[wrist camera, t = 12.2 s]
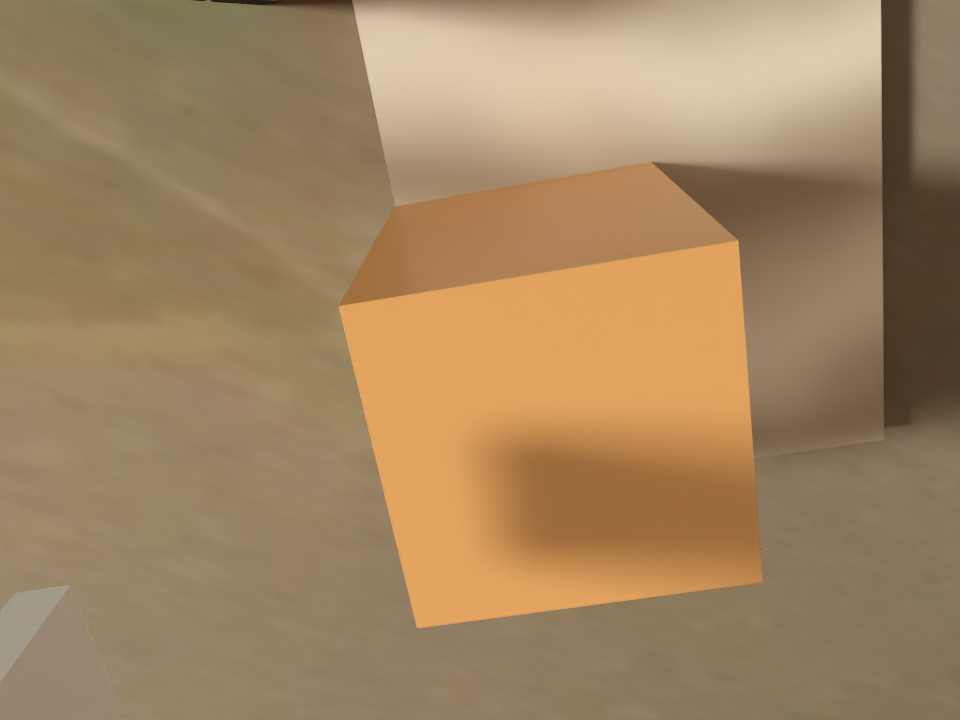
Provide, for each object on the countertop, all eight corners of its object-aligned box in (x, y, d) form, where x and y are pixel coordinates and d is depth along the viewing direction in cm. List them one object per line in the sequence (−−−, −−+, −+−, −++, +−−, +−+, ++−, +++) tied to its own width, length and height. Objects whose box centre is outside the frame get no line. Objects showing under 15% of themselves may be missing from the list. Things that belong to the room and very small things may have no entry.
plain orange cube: (394, 206, 24) (338, 306, 15) (651, 162, 23) (738, 240, 15) (442, 434, 26) (416, 628, 18) (676, 399, 26) (762, 582, 17)
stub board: (329, -145, 22) (261, -211, 16) (858, -252, 21) (1013, -370, 15) (457, 481, 28) (446, 612, 22) (868, 423, 27) (979, 542, 21)
